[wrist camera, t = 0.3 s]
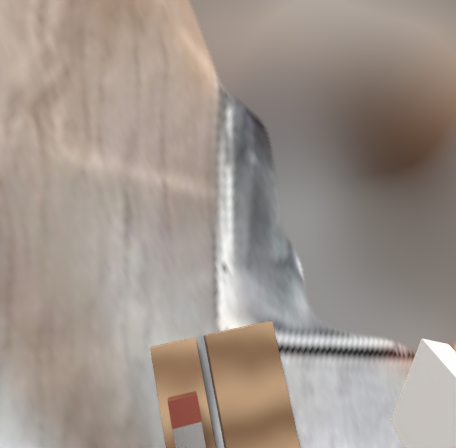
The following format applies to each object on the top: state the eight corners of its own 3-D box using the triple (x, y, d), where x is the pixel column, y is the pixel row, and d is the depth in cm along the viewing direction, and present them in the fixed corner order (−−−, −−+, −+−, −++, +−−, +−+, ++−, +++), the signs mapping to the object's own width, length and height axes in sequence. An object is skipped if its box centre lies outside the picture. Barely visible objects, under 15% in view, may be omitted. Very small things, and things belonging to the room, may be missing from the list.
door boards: (311, 525, 39) (337, 563, 33) (186, 565, 37) (189, 615, 31) (266, 321, 44) (282, 321, 37) (151, 346, 41) (148, 351, 35)
